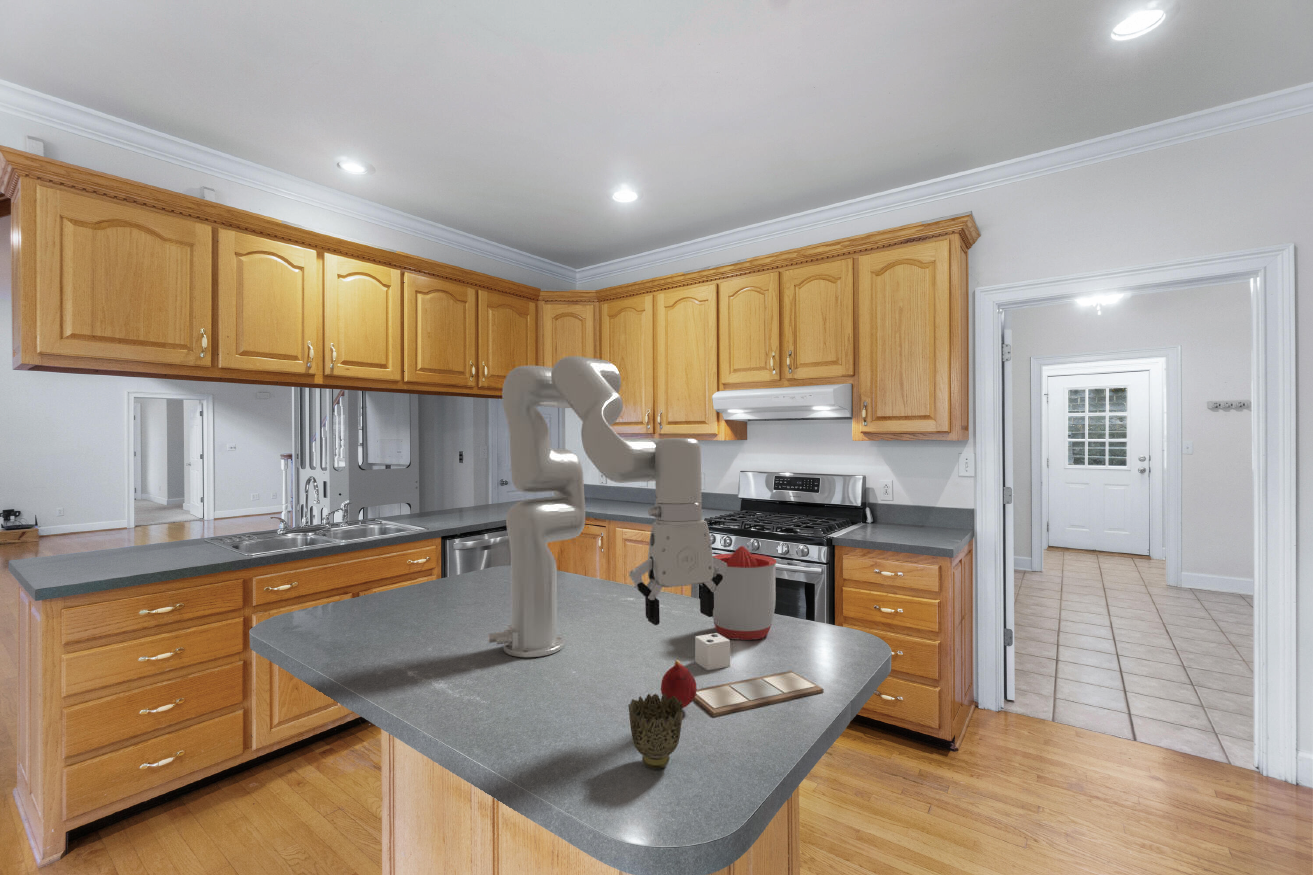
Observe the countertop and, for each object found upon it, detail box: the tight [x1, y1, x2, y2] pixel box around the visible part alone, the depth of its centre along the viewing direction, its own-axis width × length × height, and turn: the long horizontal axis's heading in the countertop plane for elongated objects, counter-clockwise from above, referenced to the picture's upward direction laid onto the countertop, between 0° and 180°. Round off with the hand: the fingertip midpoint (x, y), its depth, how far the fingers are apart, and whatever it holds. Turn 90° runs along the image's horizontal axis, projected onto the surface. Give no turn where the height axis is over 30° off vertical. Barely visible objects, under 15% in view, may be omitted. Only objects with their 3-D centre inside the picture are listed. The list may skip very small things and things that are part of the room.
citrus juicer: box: [712, 545, 777, 641], centre depth 133 cm, size 16×17×20 cm
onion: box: [660, 659, 697, 709], centre depth 94 cm, size 6×6×8 cm
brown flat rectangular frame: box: [693, 670, 825, 717], centre depth 100 cm, size 22×9×1 cm, turn 114°
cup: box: [628, 693, 684, 770], centre depth 78 cm, size 8×7×8 cm
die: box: [694, 632, 731, 671], centre depth 114 cm, size 5×5×5 cm
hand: (680, 618), depth 94 cm, fingers open, 9 cm apart
